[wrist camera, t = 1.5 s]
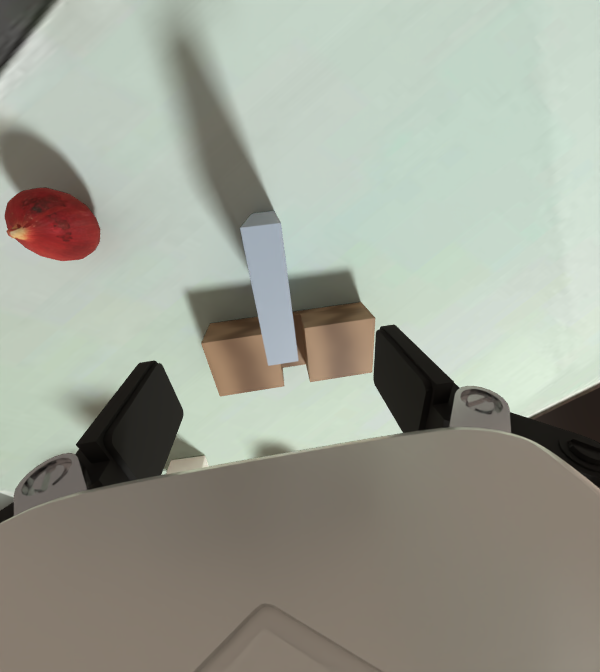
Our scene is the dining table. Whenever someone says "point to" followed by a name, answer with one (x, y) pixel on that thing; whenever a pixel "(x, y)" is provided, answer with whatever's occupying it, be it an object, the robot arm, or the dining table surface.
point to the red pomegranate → (52, 224)
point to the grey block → (270, 285)
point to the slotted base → (312, 346)
